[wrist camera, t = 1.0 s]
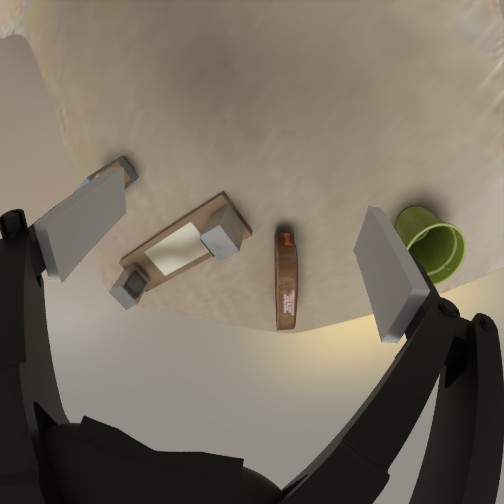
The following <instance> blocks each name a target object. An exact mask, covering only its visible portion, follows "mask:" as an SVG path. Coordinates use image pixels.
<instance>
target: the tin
mask: <svg viewBox="0 0 504 504" xmlns="http://www.w3.org/2000/svg"><path fill="white" fill-rule="evenodd" d="M274 238H275V296H276V321H277V331H278V330H287V329H294V327H295V323H296V311H297V291H298V259H297V249H296V245H295V243H294V234H293V233H277V232H275V236H274Z"/></svg>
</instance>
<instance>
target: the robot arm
mask: <svg viewBox="0 0 504 504" xmlns="http://www.w3.org/2000/svg"><path fill="white" fill-rule="evenodd" d="M125 213H126V202H125V184H124V168H121V167H111V168H110V169H108V170H107V171H105V172H104V173H102V174H100V175H99V176H97V177H96V178H94V179H93V180H91V181H90V182H88V183H87V184H86V185H84V186H83V187H81V188H80V189H78V190H77V191H76V192H74V193H73V194H72V195H70V196H69V197H67V198H66V199H65V200H63V201H62V202H60V203H59V204H58V205H57V206H55V207H53V208H52V209H51V210H49V211H48V212H47V213H46V214H44V215H43V216H42V217H41V218H39V219H38V220H37V221H36V222H34V223H33V224H32V225H31V226H30V227H29V228H28V227H27V223H26V219H25V214H24V211H23V210H22V209H15V210H11V211H8V212H6V213H5V214H3V215H2V216H1V217H0V231H1V234H2V239H0V504H373V502H374V501H375V500H376V498H377V497H378V496H379V494H380V493H381V492H382V490H383V489H384V487H385V486H386V484H387V482H388V480H389V477H390V475H389V474H388V469H389V467H390V465H391V464H392V462H393V461H394V459H395V458H396V456H397V455H398V453H399V451H400V450H401V448H402V446H403V445H404V443H405V441H406V440H407V438H408V436H409V435H410V433H411V431H412V429H413V427H414V426H415V424H416V422H417V420H418V418H419V416H420V414H421V412H422V410H423V408H424V406H425V404H426V402H427V400H428V398H429V396H430V394H431V392H432V390H433V387H434V385H435V383H436V381H437V378H438V376H439V374H440V378H439V386H438V393H437V399H436V405H435V411H434V416H433V421H432V426H431V431H430V435H429V439H428V443H427V448H426V451H425V455H424V459H423V462H422V466H421V469H420V473H419V476H418V479H417V482H416V485H415V488H414V491H413V494H412V497H411V499H410V502H409V504H495V502H496V497H497V491H498V486H499V480H500V473H501V464H502V455H503V443H504V380H503V367H502V358H501V349H500V342H499V336H498V329H497V327H496V325H495V323H494V321H493V320H492V319H491V318H490V317H489V316H487V315H485V314H482V313H477V314H476V315H475V316H474V318H473V319H472V321H469V320H466V319H464V318H461V317H460V313H459V310H458V308H457V307H456V306H455V305H454V304H453V303H452V302H451V301H449V300H447V299H445V298H441V297H440V296H439V294H438V292H437V290H436V288H435V286H434V285H433V283H432V281H430V280H431V279H430V277H429V276H428V275H427V272H426V270H425V269H424V267H423V266H422V265H421V264H420V263H419V262H418V261H417V260H416V259H415V258H412V257H411V255H410V253H409V252H408V250H407V248H406V247H405V245H404V243H403V242H402V240H401V238H400V237H399V235H398V233H397V232H396V230H395V229H394V227H393V225H392V224H391V222H390V221H389V219H388V218H387V216H386V215H385V213H384V211H383V210H382V209H381V208H376V207H372V206H369V207H368V210H367V213H366V216H365V219H364V222H363V225H362V228H361V231H360V234H359V236H358V239H357V242H356V245H355V248H354V252H355V255H356V258H357V261H358V264H359V267H360V270H361V273H362V276H363V280H364V283H365V286H366V289H367V293H368V296H369V299H370V303H371V306H372V309H373V313H374V316H375V320H376V323H377V327H378V331H379V335H380V338H381V342H387V343H398V342H399V340H400V339H401V337H402V336H403V334H404V333H405V335H406V338H407V341H406V343H405V344H404V346H403V347H402V349H401V350H400V351H399V353H398V354H397V355H396V357H395V360H394V361H393V363H392V364H391V366H390V367H389V369H388V370H387V371H386V373H385V375H384V376H383V377H382V379H381V380H380V382H379V383H378V384H377V386H376V387H375V388H374V390H373V391H372V392H371V394H370V395H369V397H368V398H367V399H366V401H365V402H364V403H363V404H362V406H361V407H360V408H359V409H358V411H357V412H356V413H355V415H354V416H353V417H352V418H351V419H350V421H349V422H348V423H347V424H346V425H345V427H344V428H343V429H342V430H341V431H340V432H339V434H338V435H337V436H336V437H335V438H334V439H333V440H332V441H331V443H330V444H329V445H328V446H327V447H326V448H325V449H324V450H323V451H322V452H321V453H320V454H319V455H318V456H317V458H316V459H315V460H314V461H313V462H312V463H311V464H310V465H309V466H308V467H307V468H306V469H304V470H303V471H302V472H301V473H300V474H299V475H298V476H297V477H296V478H295V479H293V480H292V481H291V482H290V483H289V484H288V485H286V486H285V487H284V488H283V489H282V490H280V489H279V488H278V487H277V486H276V485H275V484H274V483H273V482H271V481H270V480H269V479H267V478H266V477H264V476H262V475H261V474H259V473H257V472H255V471H253V470H251V469H248V468H245V467H243V461H244V459H241V458H234V457H228V456H222V455H216V454H210V453H205V452H163V451H155V450H153V449H151V448H149V447H147V446H145V445H144V444H142V443H140V442H139V441H137V440H135V439H134V438H132V437H130V436H129V435H127V434H126V433H124V432H122V431H121V430H119V429H117V428H115V427H111V426H109V425H107V424H104V423H101V422H98V421H96V420H94V419H91V418H89V417H87V416H84V417H83V419H82V422H81V423H70V422H69V420H68V419H67V417H66V415H65V413H64V410H63V407H62V403H61V400H60V395H59V391H58V387H57V382H56V378H55V373H54V368H53V363H52V357H51V351H50V344H49V337H48V330H47V321H46V311H45V299H44V281H43V278H42V275H41V273H42V272H43V271H44V270H45V269H46V270H47V273H48V277H49V279H50V280H52V281H55V282H59V283H63V282H64V280H65V279H66V278H67V277H68V275H69V274H70V273H71V272H72V271H73V270H74V268H75V267H76V266H77V265H78V264H79V263H80V262H81V260H82V259H83V258H84V257H85V256H86V255H87V254H88V252H89V251H90V250H91V249H92V248H93V247H94V246H95V245H96V244H97V243H98V241H99V240H100V239H101V238H102V237H103V236H104V235H105V234H106V233H107V232H108V231H109V230H110V229H111V228H112V227H113V226H114V225H115V224H116V223H117V222H118V220H119V219H120V218H121V217H122V216H123V215H124V214H125Z"/></svg>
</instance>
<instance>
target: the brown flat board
mask: <svg viewBox="0 0 504 504" xmlns="http://www.w3.org/2000/svg"><path fill="white" fill-rule="evenodd" d="M227 204H229V205H230V207H231V208H232V209H233V211H234V212H235V214H236V215H237V216H238V218H239V219H240V220H241V222H242V223H243V224H244V226H245V231H244V235H243V239H242V240H244V239H246V238H248V237H250V236H252V230H251V229H250V227H249V226H248V225H247V223H246V222H245V220H244V219H243V218H242V216H241V215H240V213H239V212H238V211H237V209H236V208H235V207H234V205H233V204H232V202H231V201H230V200H229V198H228V197H227V196H226V194H225V193H224V191H223V192H222V193H220V194H219V195H217V196H215V197H214V198H212V199H211V200H209V201H207V202H206V203H204V204H203V205H201V206H199V207H198V208H196V209H195V210H193V211H192V212H190V213H189V214H187V215H185V216H184V217H182V218H181V219H179V220H178V221H176V222H175V223H173V224H172V225H170V226H169V227H167V228H166V229H164V230H163V231H161V232H160V233H158V234H157V235H155V236H154V237H152V238H151V239H149V240H148V241H147V242H145V243H144V244H142V245H141V246H139V247H138V248H136V249H135V250H134V251H132V252H131V253H129V254H128V255H127V256H125V257H124V258H122V259H121V261H120V262H119V264H120V265H121V266H122V267H123V268H124V269H126V268H127V267H129V266H130V265H132V264H133V263H136V264H137V265H138V266H139V267H140V268H141V269H142V270H143V271H144V273H145V274H146V275H147V276H148V277H149V278H150V279H151V281H150V282H149V284H148V286H147V288H146V289H145V292H147V291H149V290H151V289H152V288H154V287H156V286H158V285H160V284H162V283H164V282H165V281H167V280H169V279H171V278H173V277H175V276H176V275H178V274H180V273H182V272H184V271H186V270H188V269H190V268H191V267H193V266H195V265H197V264H199V263H201V262H203V261H204V260H206V259H208V258H210V257H212V256H213V255H212V254H211V253H210V252H209V250H208V249H207V248H206V247H205V246H204V244H203V243H202V242H201V241H200V239H201V238H200V237H199V236H200V234H201V232H202V230H203V228H204V226H205V224H206V222H207V220H208V218H209V216H210V215H211V214H212V213H214V212H216V211H217V210H219V209H221V208H222V207H224V206H226V205H227Z"/></svg>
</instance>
